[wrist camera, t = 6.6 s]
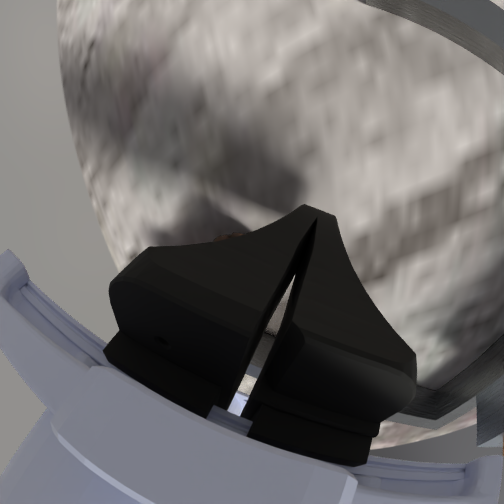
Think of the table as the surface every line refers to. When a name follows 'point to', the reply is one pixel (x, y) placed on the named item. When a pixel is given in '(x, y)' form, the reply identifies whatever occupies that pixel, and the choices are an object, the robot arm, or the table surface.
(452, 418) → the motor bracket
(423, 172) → the table surface
